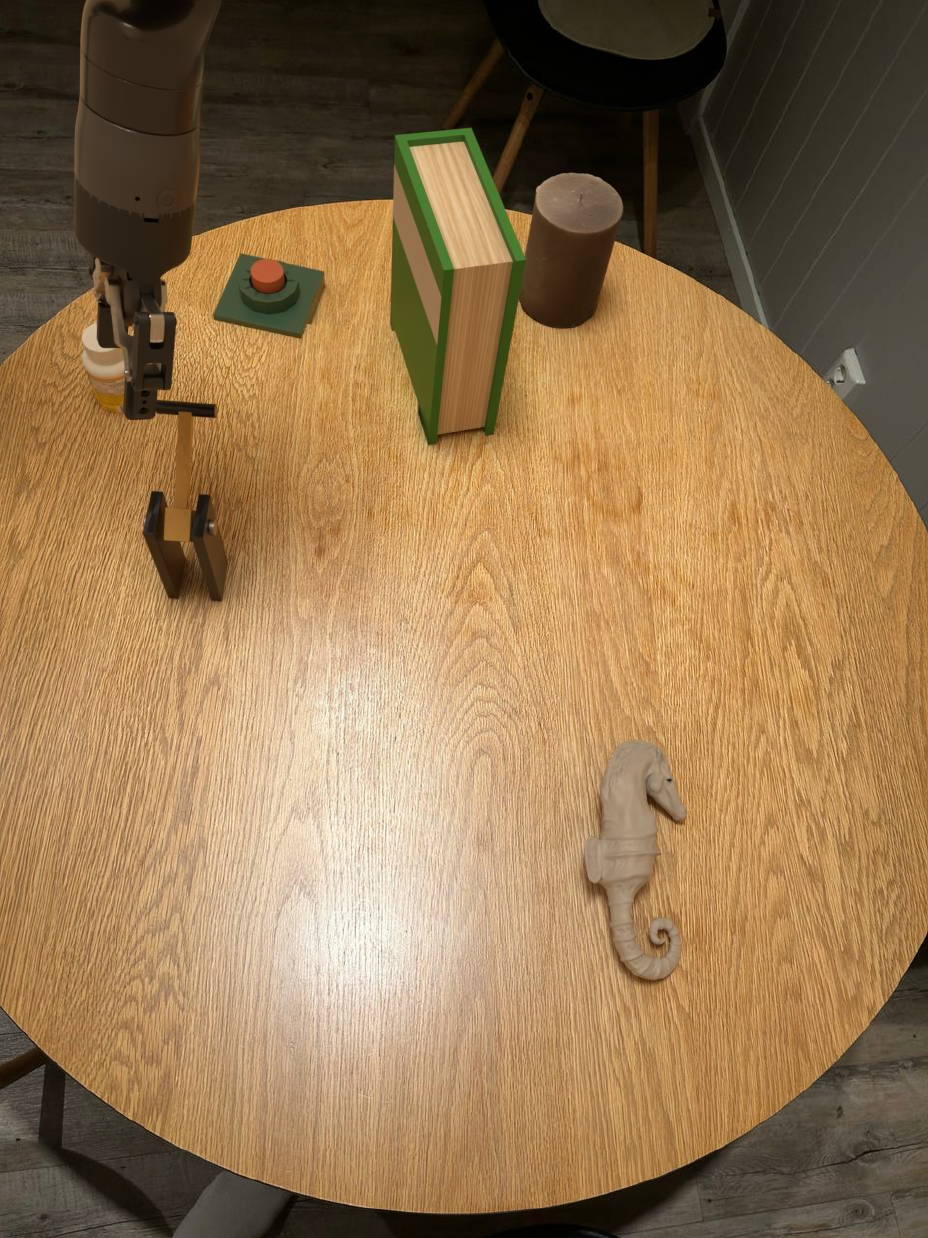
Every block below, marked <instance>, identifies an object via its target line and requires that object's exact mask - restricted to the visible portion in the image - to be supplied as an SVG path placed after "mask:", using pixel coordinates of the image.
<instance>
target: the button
mask: <svg viewBox="0 0 928 1238" xmlns="http://www.w3.org/2000/svg"><path fill="white" fill-rule="evenodd" d="M271 259H272V258H265V259H263V260H259V261H257V262H256V263H254V264H253V265H252V267H251V279H252V285H253V287H254V288H255V289H256V290H257V291H258V292H260V293H263V294H273V293H277V292H279V291H280V290H281V289H282V288H283V287H284V284H285V279H284V270H283V267H282V265H281V264H280V263H278V262H277V261H278V260H277V261H275V260H276V259H272V260H271Z"/></svg>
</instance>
